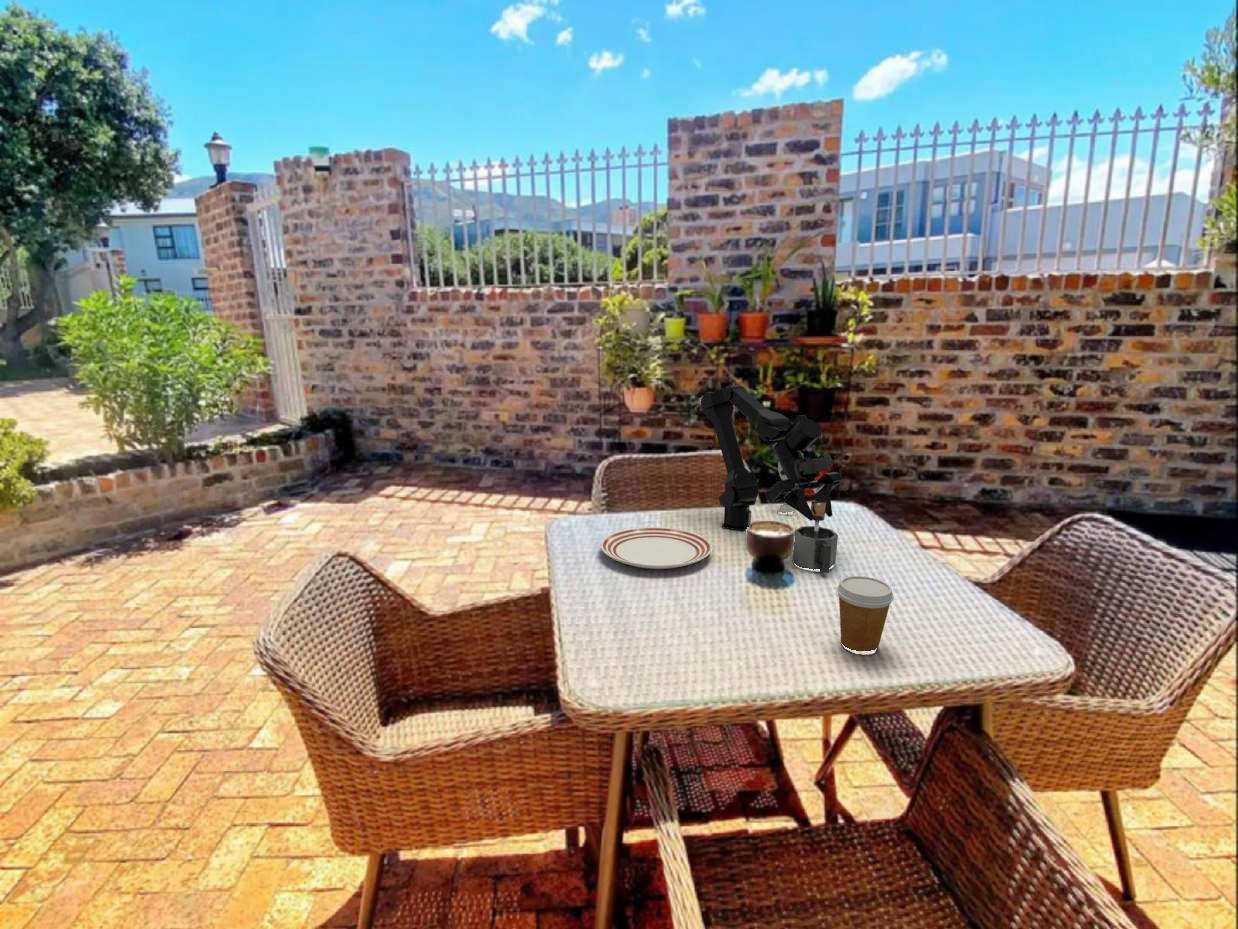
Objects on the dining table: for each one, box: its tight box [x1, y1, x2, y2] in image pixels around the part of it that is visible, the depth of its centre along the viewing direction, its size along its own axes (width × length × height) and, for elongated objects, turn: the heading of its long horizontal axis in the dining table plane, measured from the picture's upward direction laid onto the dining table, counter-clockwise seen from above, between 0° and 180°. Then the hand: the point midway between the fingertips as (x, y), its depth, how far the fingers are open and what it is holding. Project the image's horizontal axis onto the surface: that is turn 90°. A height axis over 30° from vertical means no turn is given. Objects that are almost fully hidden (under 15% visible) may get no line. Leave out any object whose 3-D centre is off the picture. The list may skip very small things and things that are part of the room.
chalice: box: [777, 453, 804, 513], centre depth 189 cm, size 7×7×18 cm
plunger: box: [810, 499, 826, 539], centre depth 151 cm, size 7×7×11 cm
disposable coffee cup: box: [836, 575, 895, 651], centre depth 116 cm, size 10×10×12 cm
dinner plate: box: [599, 526, 713, 570], centre depth 159 cm, size 27×27×3 cm
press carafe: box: [791, 525, 839, 574], centre depth 151 cm, size 12×9×8 cm
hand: (821, 518), depth 150 cm, fingers open, 5 cm apart
